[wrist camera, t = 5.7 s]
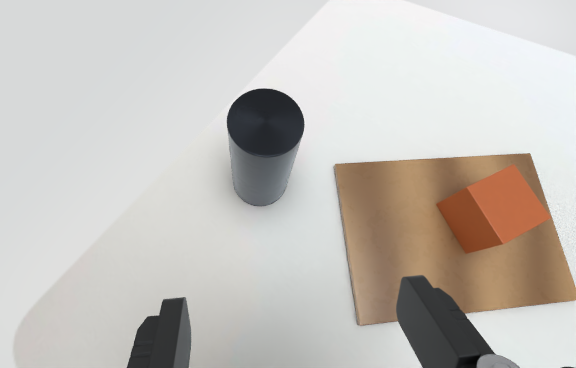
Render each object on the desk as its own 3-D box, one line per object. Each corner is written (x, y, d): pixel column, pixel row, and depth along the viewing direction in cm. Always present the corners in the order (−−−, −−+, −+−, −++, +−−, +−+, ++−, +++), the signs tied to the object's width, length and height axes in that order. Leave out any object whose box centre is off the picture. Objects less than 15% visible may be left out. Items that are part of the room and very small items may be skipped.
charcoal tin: (234, 208, 32) (228, 159, 21) (231, 157, 33) (225, 89, 23) (289, 204, 32) (308, 155, 22) (283, 154, 34) (300, 87, 24)
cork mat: (357, 325, 30) (359, 325, 29) (333, 166, 34) (335, 163, 33) (574, 300, 32) (580, 299, 32) (525, 155, 37) (530, 153, 36)
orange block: (465, 254, 32) (503, 244, 27) (435, 204, 33) (466, 186, 29) (508, 230, 33) (551, 217, 28) (477, 183, 34) (514, 163, 30)
